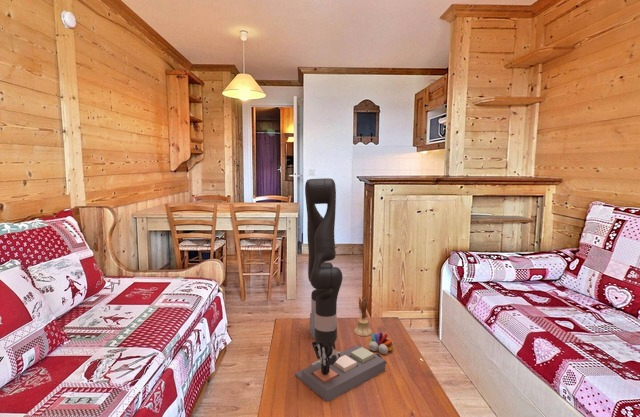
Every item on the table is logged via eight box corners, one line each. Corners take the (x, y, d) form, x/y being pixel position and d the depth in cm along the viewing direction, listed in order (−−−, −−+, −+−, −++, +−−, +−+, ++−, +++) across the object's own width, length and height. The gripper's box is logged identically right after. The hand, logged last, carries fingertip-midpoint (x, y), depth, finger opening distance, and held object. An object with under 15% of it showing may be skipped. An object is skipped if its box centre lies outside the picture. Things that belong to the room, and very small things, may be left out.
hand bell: (367, 326, 163) (368, 294, 161) (375, 335, 155) (376, 301, 153) (351, 328, 161) (351, 295, 159) (357, 337, 153) (358, 302, 151)
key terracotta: (313, 379, 120) (313, 372, 120) (326, 372, 124) (326, 366, 123) (324, 387, 115) (324, 380, 115) (337, 380, 119) (337, 374, 119)
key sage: (350, 358, 131) (351, 352, 131) (362, 353, 135) (362, 347, 134) (362, 365, 126) (362, 359, 126) (373, 359, 130) (373, 353, 130)
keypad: (295, 375, 125) (295, 365, 125) (351, 350, 143) (351, 340, 142) (327, 402, 111) (327, 390, 111) (385, 370, 129) (385, 360, 128)
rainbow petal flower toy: (388, 357, 138) (388, 340, 137) (365, 350, 143) (366, 333, 142) (395, 348, 145) (396, 331, 144) (374, 341, 150) (374, 325, 149)
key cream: (332, 366, 125) (332, 360, 125) (345, 361, 129) (345, 354, 129) (344, 374, 121) (344, 368, 121) (356, 368, 125) (356, 362, 124)
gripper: (305, 321, 120) (305, 368, 122) (330, 336, 110) (329, 387, 112) (322, 315, 124) (321, 361, 127) (347, 329, 114) (346, 378, 116)
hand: (325, 373), depth 119 cm, fingers closed
